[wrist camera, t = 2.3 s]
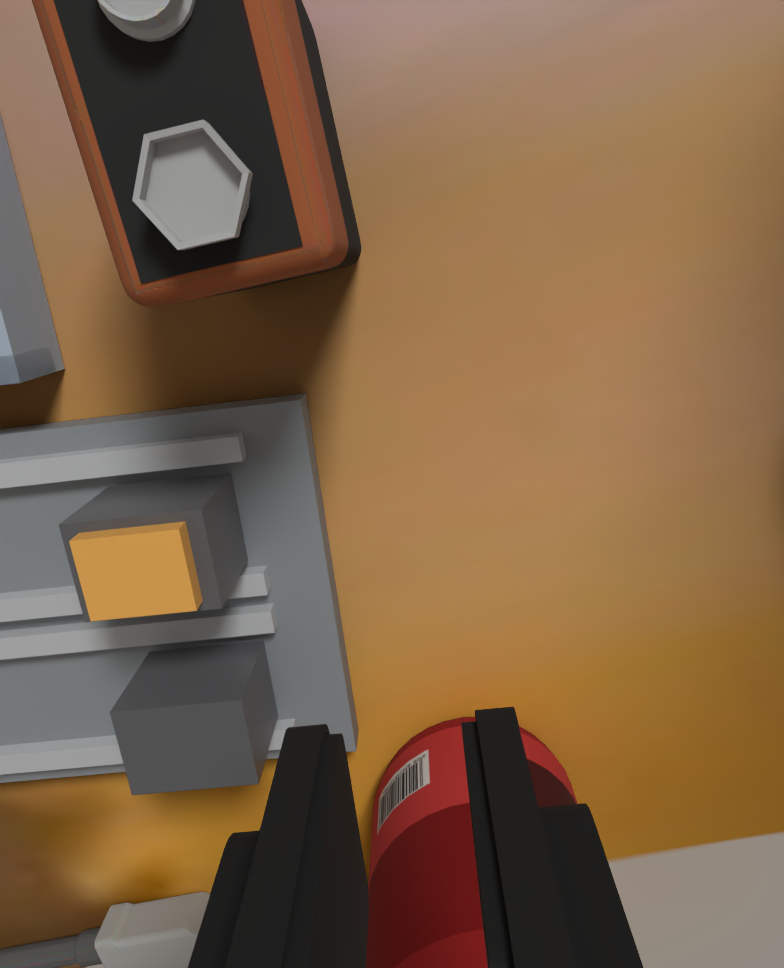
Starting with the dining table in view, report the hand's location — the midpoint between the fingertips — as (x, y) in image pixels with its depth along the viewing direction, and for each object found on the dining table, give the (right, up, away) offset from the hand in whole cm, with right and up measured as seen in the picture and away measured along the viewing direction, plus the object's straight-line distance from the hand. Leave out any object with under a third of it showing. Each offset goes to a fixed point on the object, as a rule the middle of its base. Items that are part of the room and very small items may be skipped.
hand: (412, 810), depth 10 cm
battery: (-4, +14, +12) cm, 19 cm away
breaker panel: (-10, 0, +16) cm, 19 cm away
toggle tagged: (-7, +3, +13) cm, 16 cm away
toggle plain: (-6, -2, +15) cm, 17 cm away
